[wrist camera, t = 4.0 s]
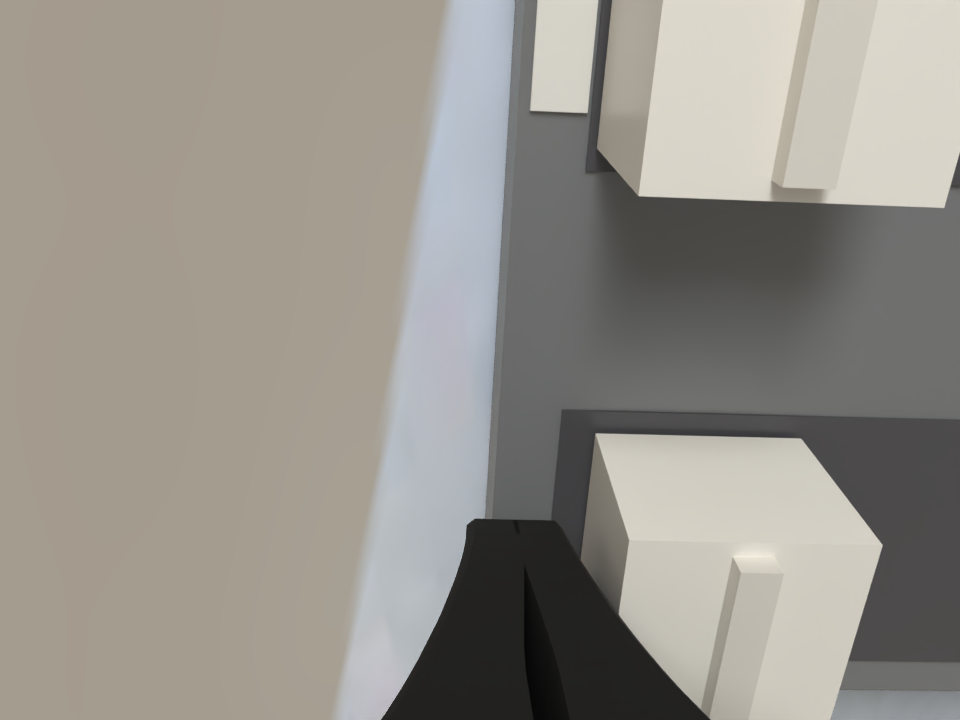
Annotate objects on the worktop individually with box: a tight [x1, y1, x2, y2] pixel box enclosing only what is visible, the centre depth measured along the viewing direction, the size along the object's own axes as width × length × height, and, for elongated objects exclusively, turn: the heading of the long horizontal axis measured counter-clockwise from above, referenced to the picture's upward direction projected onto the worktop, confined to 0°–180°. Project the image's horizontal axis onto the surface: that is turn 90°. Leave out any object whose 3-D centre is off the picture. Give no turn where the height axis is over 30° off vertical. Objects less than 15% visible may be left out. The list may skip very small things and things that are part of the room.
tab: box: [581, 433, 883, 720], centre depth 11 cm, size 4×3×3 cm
